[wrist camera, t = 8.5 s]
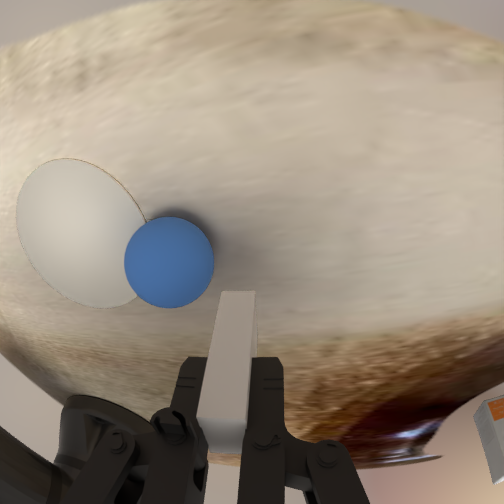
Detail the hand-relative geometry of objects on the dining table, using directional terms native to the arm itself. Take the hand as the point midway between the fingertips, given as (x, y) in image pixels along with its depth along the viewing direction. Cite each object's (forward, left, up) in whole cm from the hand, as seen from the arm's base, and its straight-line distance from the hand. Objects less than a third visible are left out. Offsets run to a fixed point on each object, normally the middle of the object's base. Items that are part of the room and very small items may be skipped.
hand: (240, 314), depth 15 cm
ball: (-4, +3, -4) cm, 7 cm away
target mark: (-11, +7, -7) cm, 15 cm away
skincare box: (+15, -38, -7) cm, 42 cm away
